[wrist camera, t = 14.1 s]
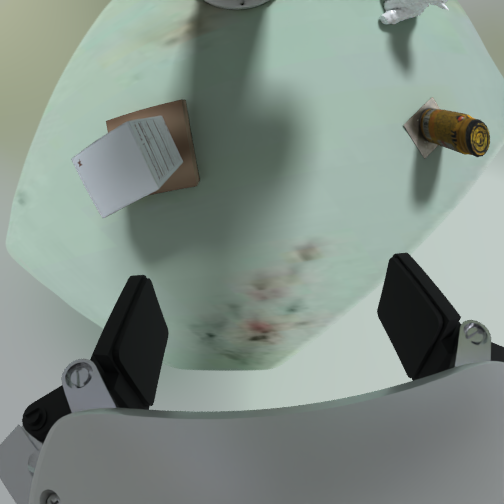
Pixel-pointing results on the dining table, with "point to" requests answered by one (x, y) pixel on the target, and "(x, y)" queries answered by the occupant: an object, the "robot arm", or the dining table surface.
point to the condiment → (447, 131)
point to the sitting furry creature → (406, 9)
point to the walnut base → (181, 136)
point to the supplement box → (127, 163)
